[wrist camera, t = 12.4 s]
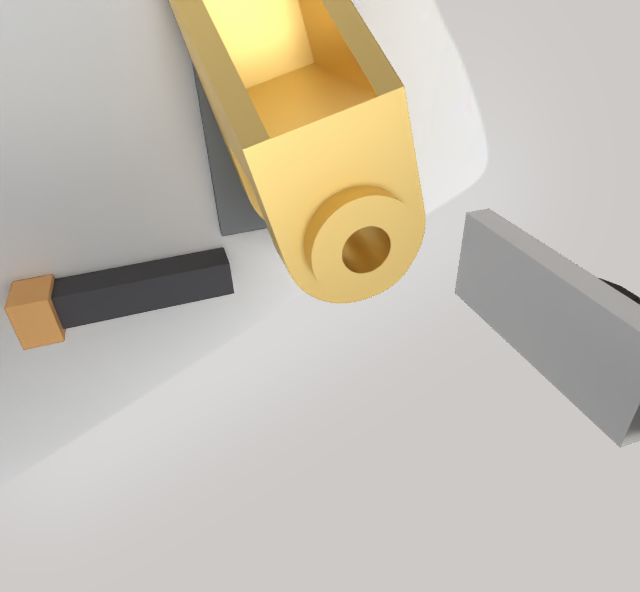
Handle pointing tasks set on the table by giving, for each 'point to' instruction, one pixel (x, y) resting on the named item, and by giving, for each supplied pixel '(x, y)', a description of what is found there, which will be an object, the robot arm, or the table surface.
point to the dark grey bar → (112, 294)
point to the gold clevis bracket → (313, 136)
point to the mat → (225, 177)
